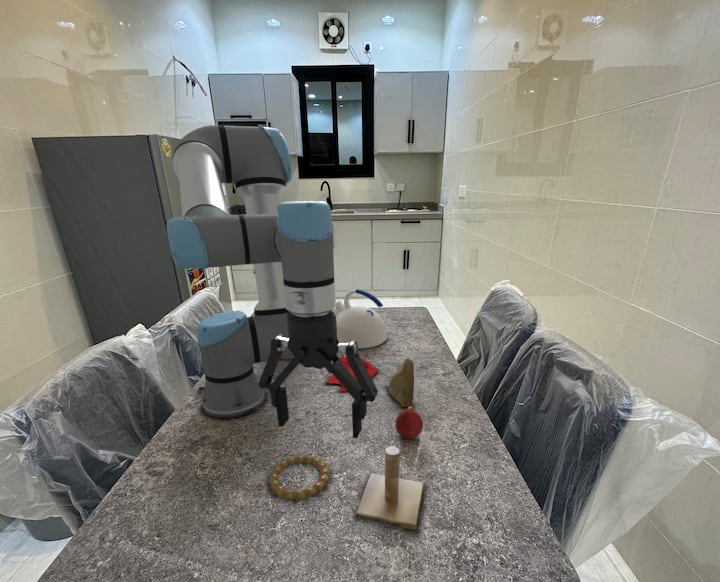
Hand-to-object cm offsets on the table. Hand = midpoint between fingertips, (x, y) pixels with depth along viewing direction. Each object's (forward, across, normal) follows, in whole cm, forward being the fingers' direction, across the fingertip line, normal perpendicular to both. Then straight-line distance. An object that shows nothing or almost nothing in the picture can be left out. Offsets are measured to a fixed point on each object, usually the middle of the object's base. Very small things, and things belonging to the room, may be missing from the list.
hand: (319, 428), depth 66 cm
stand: (+13, +13, -1) cm, 18 cm away
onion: (+13, +13, +18) cm, 26 cm away
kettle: (+12, -14, +73) cm, 76 cm away
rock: (+13, +8, +35) cm, 38 cm away
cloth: (+12, -8, +47) cm, 50 cm away
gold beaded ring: (+12, -5, 0) cm, 13 cm away
